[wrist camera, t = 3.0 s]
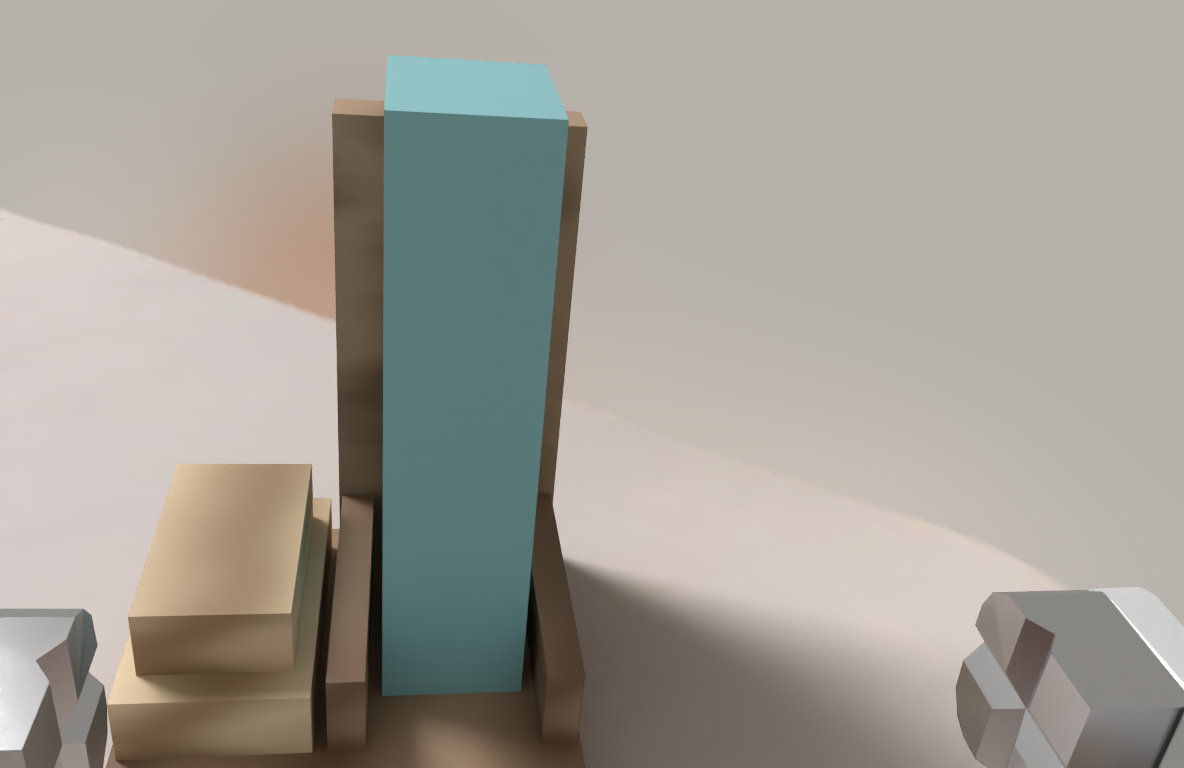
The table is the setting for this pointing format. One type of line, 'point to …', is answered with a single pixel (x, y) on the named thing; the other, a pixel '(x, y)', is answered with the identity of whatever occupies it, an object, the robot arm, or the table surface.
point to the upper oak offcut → (225, 571)
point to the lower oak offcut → (230, 690)
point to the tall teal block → (464, 363)
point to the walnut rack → (354, 603)
